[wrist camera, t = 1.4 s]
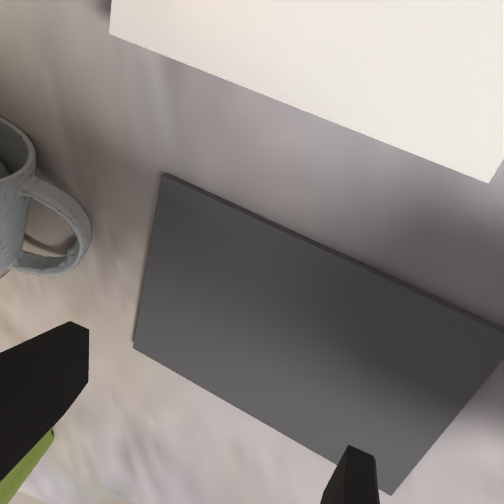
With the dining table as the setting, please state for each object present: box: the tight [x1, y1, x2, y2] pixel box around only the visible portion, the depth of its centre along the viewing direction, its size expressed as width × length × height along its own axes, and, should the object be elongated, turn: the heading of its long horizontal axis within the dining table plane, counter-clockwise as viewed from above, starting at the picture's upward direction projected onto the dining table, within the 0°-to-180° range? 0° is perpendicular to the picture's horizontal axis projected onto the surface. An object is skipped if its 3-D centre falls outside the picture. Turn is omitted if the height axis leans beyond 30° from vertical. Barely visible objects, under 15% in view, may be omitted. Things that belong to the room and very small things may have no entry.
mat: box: [133, 173, 504, 496], centre depth 23 cm, size 17×12×1 cm
